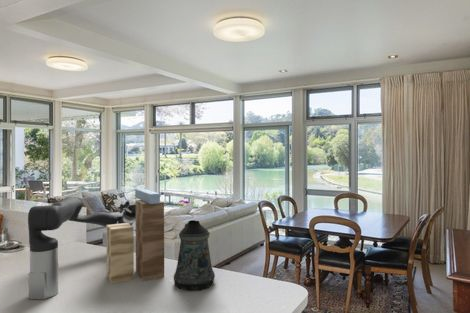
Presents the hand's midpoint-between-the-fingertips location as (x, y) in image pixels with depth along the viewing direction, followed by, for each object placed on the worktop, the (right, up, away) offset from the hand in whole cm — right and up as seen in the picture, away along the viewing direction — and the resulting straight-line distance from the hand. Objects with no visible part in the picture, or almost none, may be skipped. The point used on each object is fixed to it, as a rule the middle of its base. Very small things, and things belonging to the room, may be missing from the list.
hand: (137, 201), depth 163 cm
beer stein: (+30, -30, -26) cm, 49 cm away
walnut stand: (+10, -30, -17) cm, 35 cm away
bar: (+8, +3, -13) cm, 16 cm away
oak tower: (-2, -30, -20) cm, 36 cm away
